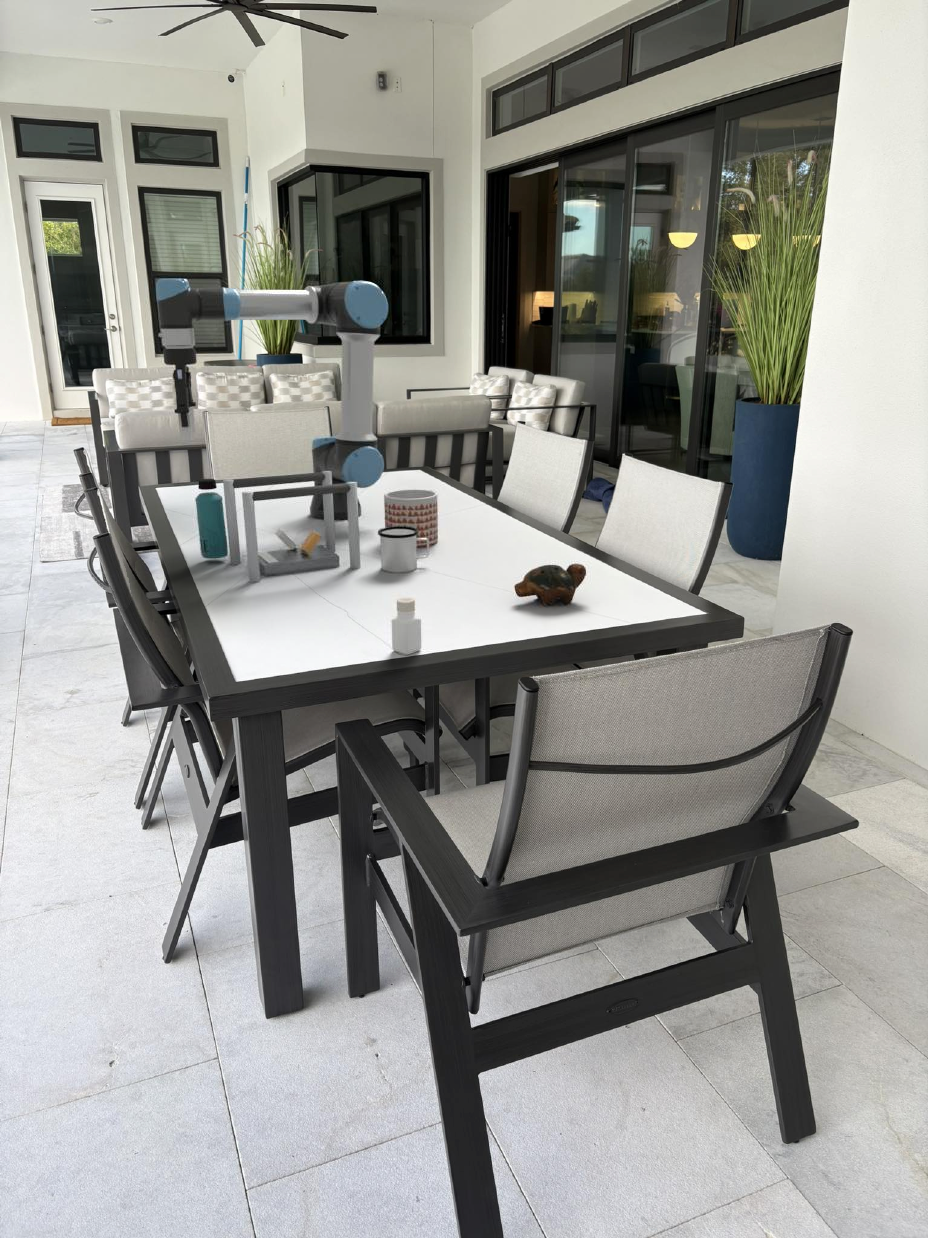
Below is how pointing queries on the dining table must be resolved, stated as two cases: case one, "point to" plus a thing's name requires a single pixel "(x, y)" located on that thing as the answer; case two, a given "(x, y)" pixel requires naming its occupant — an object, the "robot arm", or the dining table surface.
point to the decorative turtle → (552, 583)
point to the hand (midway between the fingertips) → (188, 436)
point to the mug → (399, 548)
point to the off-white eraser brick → (286, 539)
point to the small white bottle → (406, 627)
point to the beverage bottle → (211, 521)
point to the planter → (413, 512)
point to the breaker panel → (296, 560)
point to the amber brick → (310, 543)
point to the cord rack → (325, 489)
